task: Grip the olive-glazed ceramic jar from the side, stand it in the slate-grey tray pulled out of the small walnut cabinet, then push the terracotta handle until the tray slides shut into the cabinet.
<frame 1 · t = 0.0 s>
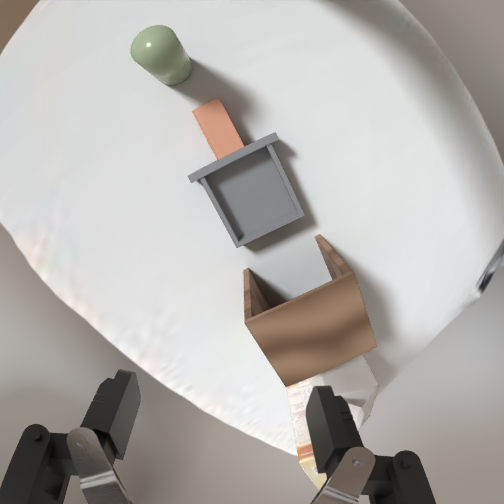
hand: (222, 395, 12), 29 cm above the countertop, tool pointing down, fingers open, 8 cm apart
cabinet: (296, 283, 42), on the countertop
coffeecake box: (310, 391, 51), on the countertop
jar: (173, 68, 31), on the countertop
tray: (238, 167, 35), point 2 cm above the countertop, slide at 14.0 cm
milk carton: (324, 342, 47), on the countertop
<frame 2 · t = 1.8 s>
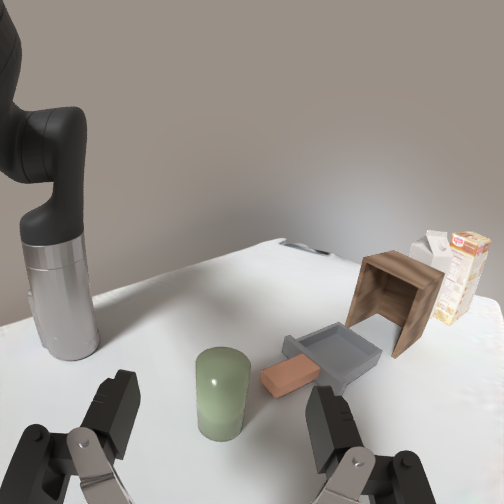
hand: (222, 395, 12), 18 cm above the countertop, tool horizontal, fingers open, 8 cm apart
cabinet: (384, 331, 48), on the countertop
coffeecake box: (449, 312, 57), on the countertop
jar: (219, 424, 28), on the countertop
tray: (319, 362, 38), point 2 cm above the countertop, slide at 14.0 cm
milk carton: (412, 313, 56), on the countertop
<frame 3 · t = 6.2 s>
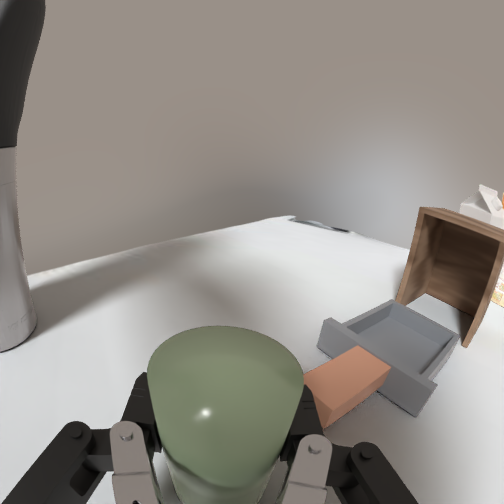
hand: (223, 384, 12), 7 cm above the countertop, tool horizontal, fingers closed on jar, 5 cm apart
cabinet: (442, 314, 33), on the countertop
coffeecake box: (496, 293, 41), on the countertop
jar: (218, 484, 12), on the countertop, touching gripper
tray: (381, 358, 22), point 2 cm above the countertop, slide at 14.0 cm
milk carton: (462, 294, 40), on the countertop
when the fingers open (9 cm above the countertop, at t = 11.1 s): jar drops 1 cm, resting on tray.
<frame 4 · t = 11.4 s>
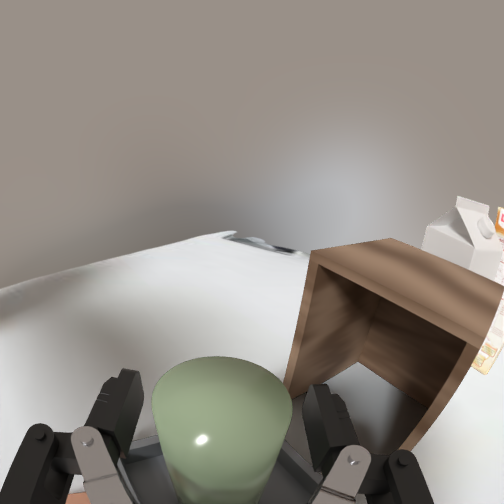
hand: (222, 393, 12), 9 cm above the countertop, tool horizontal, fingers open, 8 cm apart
cabinet: (367, 409, 21), on the countertop
coffeecake box: (481, 346, 30), on the countertop
jar: (217, 494, 12), point 1 cm above the countertop, touching tray
milk carton: (423, 356, 29), on the countertop
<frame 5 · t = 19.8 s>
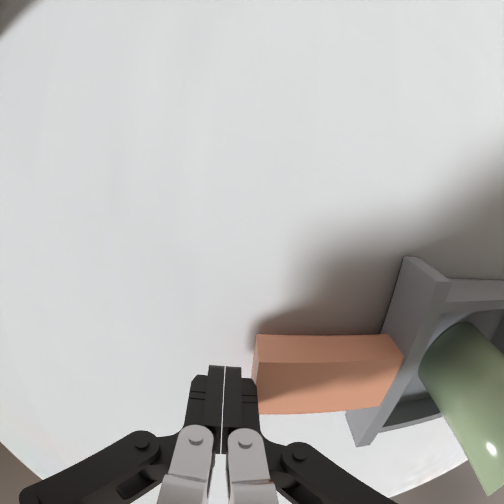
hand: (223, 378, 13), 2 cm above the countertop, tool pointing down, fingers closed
jar: (448, 354, 14), point 1 cm above the countertop, touching tray
tray: (411, 364, 14), point 2 cm above the countertop, slide at 13.4 cm, touching gripper, jar
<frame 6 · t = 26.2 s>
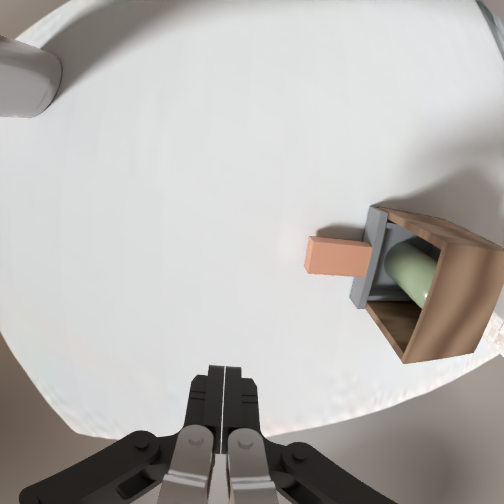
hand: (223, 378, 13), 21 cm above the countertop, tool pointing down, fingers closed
cabinet: (403, 257, 34), on the countertop
coffeecake box: (488, 299, 38), on the countertop
jar: (400, 260, 33), point 1 cm above the countertop, touching tray
tray: (378, 259, 32), point 2 cm above the countertop, slide at 0.0 cm, touching jar
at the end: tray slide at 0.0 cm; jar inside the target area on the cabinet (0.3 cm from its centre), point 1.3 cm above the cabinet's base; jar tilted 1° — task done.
